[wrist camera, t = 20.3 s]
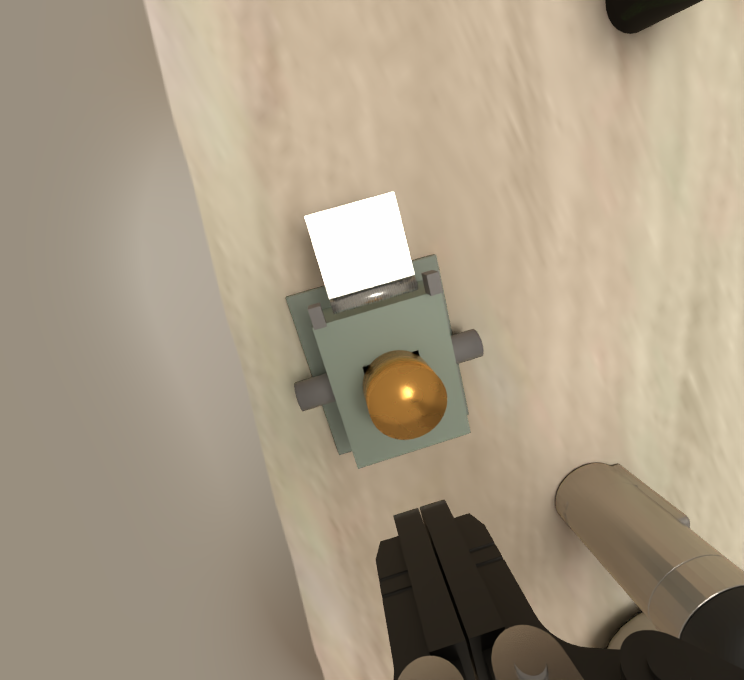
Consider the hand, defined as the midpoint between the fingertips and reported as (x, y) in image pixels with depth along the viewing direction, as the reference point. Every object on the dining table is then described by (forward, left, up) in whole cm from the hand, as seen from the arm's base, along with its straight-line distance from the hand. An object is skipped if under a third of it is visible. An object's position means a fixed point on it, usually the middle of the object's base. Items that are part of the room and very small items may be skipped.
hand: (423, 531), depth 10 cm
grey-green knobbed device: (-2, +6, -28) cm, 29 cm away
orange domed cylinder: (-3, +6, -27) cm, 28 cm away
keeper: (-2, -3, -21) cm, 21 cm away
